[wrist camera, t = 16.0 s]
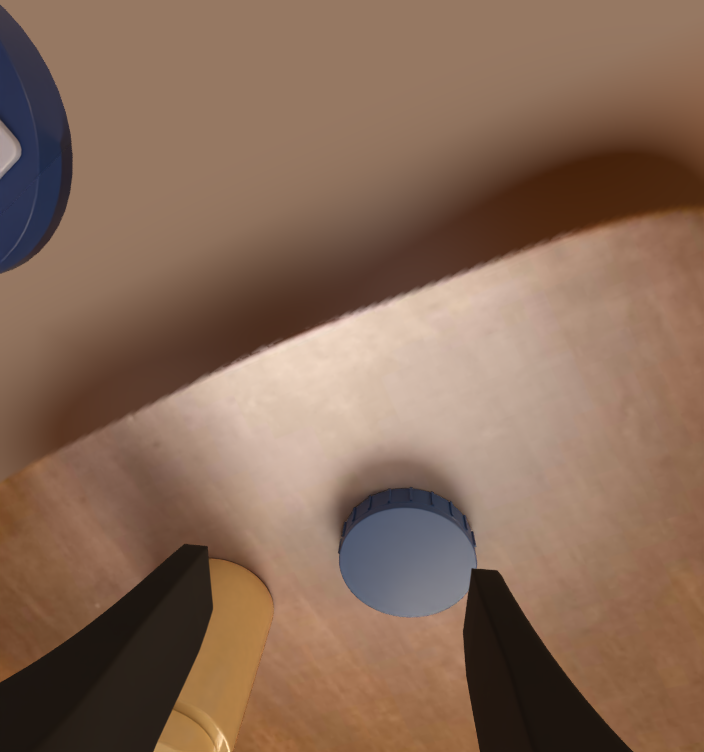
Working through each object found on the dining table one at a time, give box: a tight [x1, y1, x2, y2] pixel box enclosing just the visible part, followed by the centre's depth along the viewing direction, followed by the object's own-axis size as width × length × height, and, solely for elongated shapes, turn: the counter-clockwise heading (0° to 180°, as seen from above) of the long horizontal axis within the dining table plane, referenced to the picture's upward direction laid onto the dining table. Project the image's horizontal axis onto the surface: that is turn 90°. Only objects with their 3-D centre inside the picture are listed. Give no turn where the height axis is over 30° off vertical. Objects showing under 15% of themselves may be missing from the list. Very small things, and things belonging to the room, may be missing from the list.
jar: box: [154, 558, 274, 752], centre depth 22 cm, size 6×6×8 cm
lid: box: [338, 487, 477, 617], centre depth 23 cm, size 6×6×2 cm
